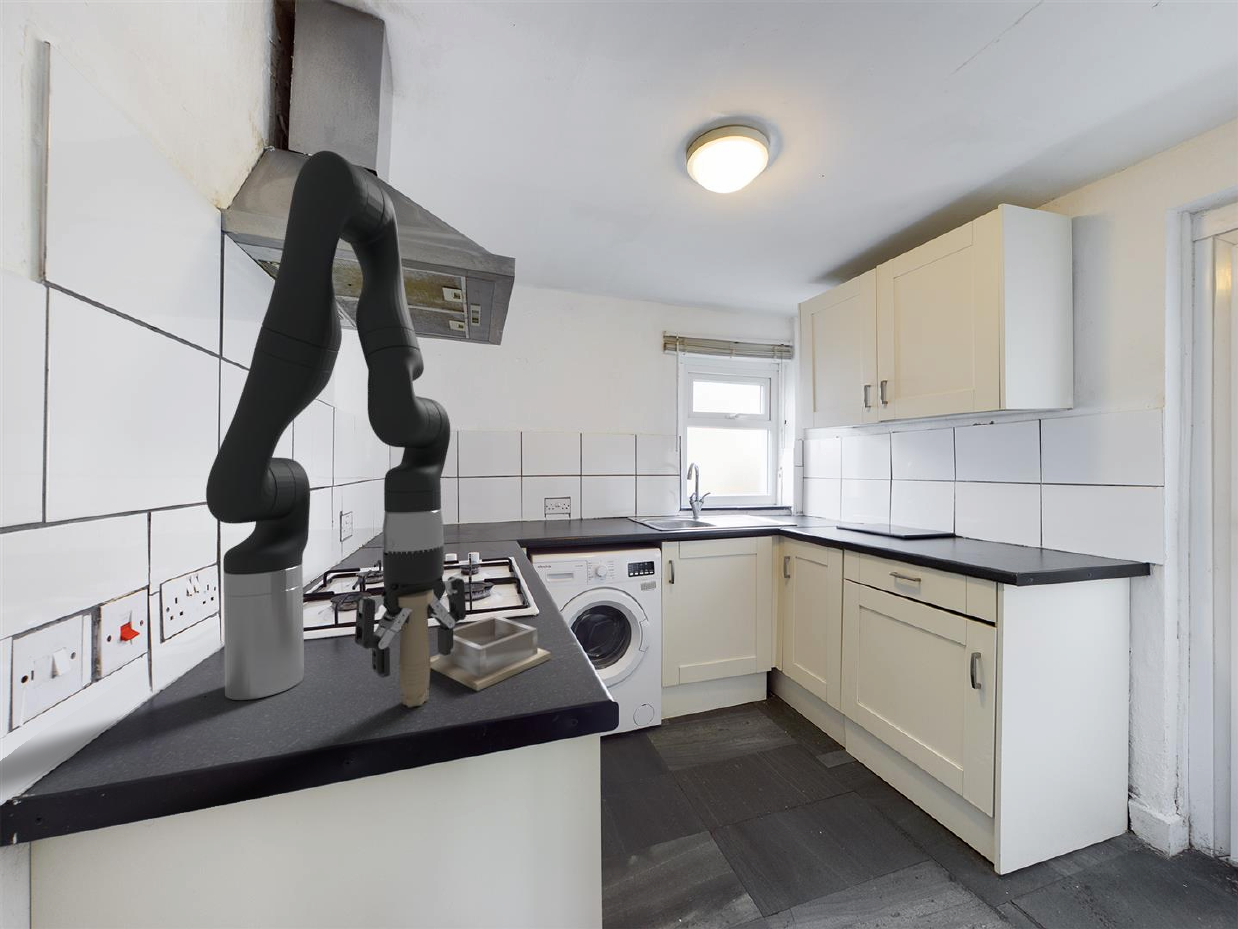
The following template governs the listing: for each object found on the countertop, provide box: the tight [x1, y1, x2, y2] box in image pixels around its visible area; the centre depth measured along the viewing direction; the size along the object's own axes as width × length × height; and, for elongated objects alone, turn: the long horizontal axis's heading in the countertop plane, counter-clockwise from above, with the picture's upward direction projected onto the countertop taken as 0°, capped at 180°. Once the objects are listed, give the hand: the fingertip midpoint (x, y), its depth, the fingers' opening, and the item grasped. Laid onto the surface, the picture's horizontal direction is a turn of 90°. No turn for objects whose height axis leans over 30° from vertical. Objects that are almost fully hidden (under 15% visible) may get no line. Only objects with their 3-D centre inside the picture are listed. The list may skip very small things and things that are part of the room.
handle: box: [398, 589, 434, 708], centre depth 64 cm, size 5×6×15 cm
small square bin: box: [430, 615, 552, 692], centre depth 77 cm, size 14×14×5 cm
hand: (415, 664), depth 64 cm, fingers open, 8 cm apart
